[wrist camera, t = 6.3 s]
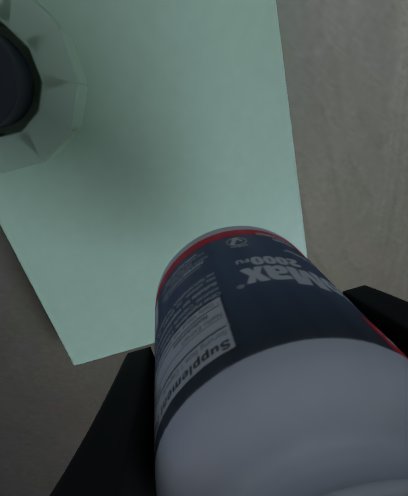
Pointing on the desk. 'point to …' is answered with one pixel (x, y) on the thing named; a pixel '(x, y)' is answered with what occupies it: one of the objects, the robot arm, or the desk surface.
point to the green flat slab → (140, 151)
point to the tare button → (14, 84)
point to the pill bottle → (271, 378)
